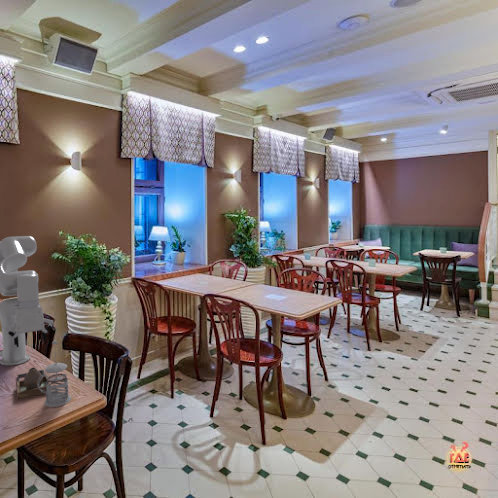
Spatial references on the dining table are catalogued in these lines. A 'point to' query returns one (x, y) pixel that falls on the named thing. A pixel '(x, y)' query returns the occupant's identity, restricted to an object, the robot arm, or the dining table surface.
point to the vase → (32, 379)
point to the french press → (54, 396)
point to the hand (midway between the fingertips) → (31, 343)
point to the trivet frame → (26, 373)
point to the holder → (25, 393)
